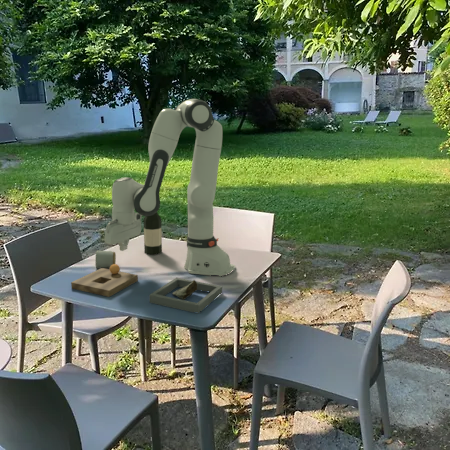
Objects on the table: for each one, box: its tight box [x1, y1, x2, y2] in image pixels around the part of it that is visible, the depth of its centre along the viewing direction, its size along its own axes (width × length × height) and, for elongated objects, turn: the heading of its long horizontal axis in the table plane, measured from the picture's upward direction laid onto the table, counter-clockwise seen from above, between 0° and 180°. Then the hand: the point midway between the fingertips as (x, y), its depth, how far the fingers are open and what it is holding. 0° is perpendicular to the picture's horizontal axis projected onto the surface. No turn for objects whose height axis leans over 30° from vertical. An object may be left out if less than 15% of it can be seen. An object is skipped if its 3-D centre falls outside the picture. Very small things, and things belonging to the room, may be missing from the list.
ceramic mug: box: [95, 250, 117, 269], centre depth 196 cm, size 11×8×8 cm
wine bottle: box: [143, 211, 163, 256], centre depth 213 cm, size 8×8×30 cm
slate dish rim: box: [148, 277, 223, 314], centre depth 165 cm, size 20×19×3 cm
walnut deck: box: [70, 268, 139, 298], centre depth 176 cm, size 18×18×2 cm
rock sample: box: [171, 279, 198, 300], centre depth 166 cm, size 10×8×9 cm
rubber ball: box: [109, 263, 121, 274], centre depth 180 cm, size 4×4×4 cm
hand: (123, 249), depth 185 cm, fingers closed
